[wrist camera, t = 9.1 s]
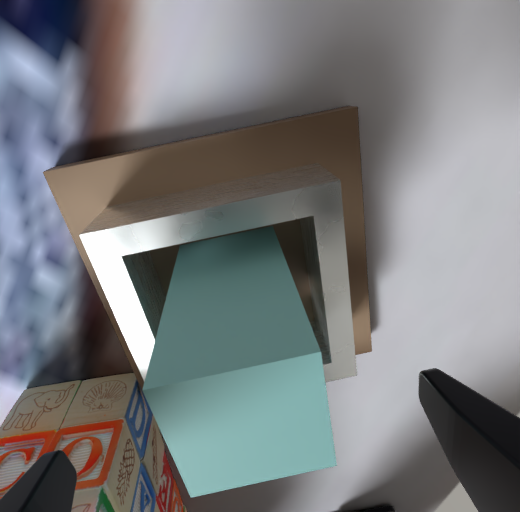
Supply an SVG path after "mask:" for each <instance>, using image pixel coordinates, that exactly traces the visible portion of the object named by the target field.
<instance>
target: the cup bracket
mask: <svg viewBox="0 0 520 512" xmlns="http://www.w3.org/2000/svg"><path fill="white" fill-rule="evenodd" d="M295 219H300V223H301V230H302V237H303V244H304V251H305V258H306V265H307V272H308V279H309V286H310V293H311V300H312V307H313V314H314V320H313V321H309V322H310V325H311V327H312V330H313V332H314V335H315V338H316V340H317V343H318V345H319V348H320V351H321V355H322V363H323V370H324V377H325V382H329V381H334V380H339V379H343V378H348V377H352V376H357V369H356V357H355V346H354V334H353V322H352V310H351V299H350V287H349V275H348V263H347V251H346V240H345V228H344V216H343V204H342V193H341V181H340V179H338V178H337V177H336V176H334V175H333V174H332V173H330V172H329V171H328V170H326V169H325V168H324V167H322V166H321V165H320V164H318V163H314V164H309V165H304V166H300V167H295V168H290V169H285V170H280V171H276V172H271V173H266V174H261V175H256V176H252V177H247V178H242V179H237V180H233V181H228V182H223V183H218V184H213V185H209V186H204V187H199V188H194V189H189V190H185V191H180V192H175V193H170V194H166V195H161V196H156V197H151V198H146V199H142V200H137V201H132V202H127V203H122V204H118V205H113V206H108V207H106V208H105V209H104V210H103V211H102V212H101V213H100V214H99V215H98V216H97V217H96V218H95V219H94V220H93V221H92V222H91V223H90V224H89V225H88V226H87V227H86V228H85V229H84V230H83V232H82V233H81V234H80V235H79V236H80V238H81V240H82V242H83V245H84V247H85V249H86V251H87V254H88V256H89V258H90V260H91V263H92V265H93V267H94V270H95V272H96V274H97V276H98V279H99V281H100V283H101V285H102V288H103V290H104V292H105V294H106V297H107V299H108V301H109V303H110V306H111V308H112V310H113V312H114V315H115V317H116V319H117V321H118V324H119V326H120V328H121V330H122V333H123V335H124V337H125V339H126V342H127V344H128V346H129V348H130V351H131V353H132V355H133V357H134V360H135V362H136V364H137V366H138V369H139V371H140V373H141V376H142V378H143V380H144V382H145V378H146V374H147V370H148V366H149V362H150V358H151V355H152V351H153V347H154V343H155V339H156V335H157V331H158V328H159V324H160V320H161V316H162V312H163V308H164V304H165V301H166V297H165V294H164V291H163V289H162V286H161V283H160V280H159V277H158V275H157V272H156V269H155V266H154V263H153V261H152V258H151V255H150V252H149V250H153V249H158V248H163V247H167V246H172V245H177V244H182V243H186V242H191V241H196V240H201V239H205V238H210V237H215V236H219V235H224V234H229V233H234V232H238V231H243V230H248V229H253V228H257V227H262V226H267V225H272V224H276V223H281V222H286V221H291V220H295Z"/></svg>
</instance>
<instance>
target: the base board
mask: <svg viewBox="0 0 520 512" xmlns="http://www.w3.org/2000/svg"><path fill="white" fill-rule="evenodd" d="M314 163H318V164H320V165H321V166H322V167H324V168H325V169H326V170H328V171H329V172H330V173H332V174H333V175H334V176H336V177H337V178H338V179H340V181H341V193H342V204H343V216H344V228H345V240H346V251H347V263H348V275H349V287H350V299H351V310H352V322H353V334H354V346H355V355H358V354H362V353H367V352H371V351H372V346H371V329H370V311H369V294H368V277H367V260H366V243H365V225H364V208H363V191H362V174H361V156H360V139H359V122H358V107H355V106H346V107H341V108H336V109H331V110H326V111H321V112H317V113H312V114H307V115H302V116H297V117H292V118H288V119H283V120H278V121H273V122H268V123H263V124H259V125H254V126H249V127H244V128H239V129H234V130H230V131H225V132H220V133H215V134H210V135H205V136H201V137H196V138H191V139H186V140H181V141H176V142H172V143H167V144H162V145H157V146H152V147H147V148H143V149H138V150H133V151H128V152H123V153H119V154H114V155H109V156H104V157H99V158H94V159H90V160H85V161H80V162H75V163H70V164H65V165H61V166H56V167H53V168H51V169H48V170H46V171H44V172H43V174H44V176H45V178H46V180H47V183H48V185H49V187H50V189H51V191H52V194H53V196H54V198H55V200H56V202H57V205H58V207H59V209H60V211H61V213H62V216H63V218H64V220H65V222H66V224H67V227H68V229H69V231H70V233H71V235H72V238H73V240H74V242H75V244H76V246H77V249H78V251H79V253H80V255H81V257H82V260H83V262H84V264H85V266H86V268H87V271H88V273H89V275H90V277H91V279H92V282H93V284H94V286H95V288H96V290H97V293H98V295H99V297H100V299H101V301H102V304H103V306H104V308H105V310H106V312H107V315H108V317H109V319H110V321H111V324H112V326H113V328H114V330H115V332H116V335H117V337H118V339H119V341H120V343H121V346H122V348H123V350H124V352H125V354H126V357H127V359H128V361H129V363H130V365H131V368H132V370H133V372H134V374H135V376H136V379H137V381H138V383H139V385H140V387H141V390H142V389H143V385H144V380H143V378H142V376H141V373H140V371H139V369H138V366H137V364H136V362H135V360H134V357H133V355H132V353H131V351H130V348H129V346H128V344H127V342H126V339H125V337H124V335H123V333H122V330H121V328H120V326H119V324H118V321H117V319H116V317H115V315H114V312H113V310H112V308H111V306H110V303H109V301H108V299H107V297H106V294H105V292H104V290H103V288H102V285H101V283H100V281H99V279H98V276H97V274H96V272H95V270H94V267H93V265H92V263H91V260H90V258H89V256H88V254H87V251H86V249H85V247H84V245H83V242H82V240H81V238H80V236H79V235H80V234H81V233H82V232H83V230H84V229H85V228H86V227H87V226H88V225H89V224H90V223H91V222H92V221H93V220H94V219H95V218H96V217H97V216H98V215H99V214H100V213H101V212H102V211H103V210H104V209H105V208H106V207H108V206H113V205H118V204H122V203H127V202H132V201H137V200H142V199H146V198H151V197H156V196H161V195H166V194H170V193H175V192H180V191H185V190H189V189H194V188H199V187H204V186H209V185H213V184H218V183H223V182H228V181H233V180H237V179H242V178H247V177H252V176H256V175H261V174H266V173H271V172H276V171H280V170H285V169H290V168H295V167H300V166H304V165H309V164H314ZM270 226H273V228H274V231H275V233H276V236H277V239H278V241H279V244H280V247H281V249H282V252H283V254H284V257H285V260H286V262H287V265H288V267H289V270H290V273H291V275H292V278H293V280H294V283H295V286H296V288H297V291H298V293H299V296H300V299H301V301H302V304H303V306H304V309H305V312H306V314H307V317H308V319H309V321H313V320H314V314H313V307H312V300H311V293H310V286H309V279H308V272H307V265H306V258H305V251H304V244H303V237H302V230H301V223H300V219H295V220H291V221H286V222H281V223H276V224H272V225H267V226H262V227H257V228H253V229H248V230H243V231H238V232H234V233H229V234H224V235H219V236H215V237H210V238H205V239H201V240H196V241H191V242H186V243H182V244H177V245H172V246H167V247H163V248H158V249H153V250H149V252H150V255H151V258H152V261H153V263H154V266H155V269H156V272H157V275H158V277H159V280H160V283H161V286H162V289H163V291H164V294H165V297H167V293H168V289H169V285H170V281H171V278H172V274H173V270H174V266H175V262H176V258H177V254H178V251H179V247H180V245H184V244H189V243H194V242H199V241H203V240H208V239H213V238H218V237H222V236H227V235H232V234H237V233H241V232H246V231H251V230H256V229H261V228H265V227H270ZM142 392H143V391H142ZM143 394H144V393H143ZM144 396H145V395H144Z"/></svg>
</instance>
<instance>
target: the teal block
mask: <svg viewBox="0 0 520 512" xmlns="http://www.w3.org/2000/svg"><path fill="white" fill-rule="evenodd" d="M142 391H143V393H144V395H145V398H146V400H147V402H148V404H149V406H150V409H151V411H152V413H153V415H154V417H155V420H156V422H157V424H158V426H159V429H160V431H161V433H162V435H163V437H164V440H165V442H166V444H167V446H168V448H169V451H170V453H171V455H172V457H173V460H174V462H175V464H176V466H177V468H178V471H179V473H180V475H181V477H182V479H183V482H184V484H185V486H186V488H187V491H188V493H189V495H190V497H191V498H192V497H196V496H201V495H206V494H210V493H215V492H219V491H224V490H228V489H233V488H237V487H242V486H247V485H251V484H256V483H260V482H265V481H269V480H274V479H279V478H283V477H288V476H292V475H297V474H301V473H306V472H310V471H315V470H320V469H324V468H329V467H333V466H337V464H336V457H335V450H334V442H333V435H332V428H331V421H330V413H329V406H328V399H327V392H326V384H325V377H324V370H323V363H322V355H321V351H320V348H319V345H318V343H317V340H316V338H315V335H314V332H313V330H312V327H311V325H310V322H309V319H308V317H307V314H306V312H305V309H304V306H303V304H302V301H301V299H300V296H299V293H298V291H297V288H296V286H295V283H294V280H293V278H292V275H291V273H290V270H289V267H288V265H287V262H286V260H285V257H284V254H283V252H282V249H281V247H280V244H279V241H278V239H277V236H276V233H275V231H274V228H273V226H270V227H265V228H261V229H256V230H251V231H246V232H241V233H237V234H232V235H227V236H222V237H218V238H213V239H208V240H203V241H199V242H194V243H189V244H184V245H180V247H179V251H178V254H177V258H176V262H175V266H174V270H173V274H172V278H171V281H170V285H169V289H168V293H167V297H166V301H165V304H164V308H163V312H162V316H161V320H160V324H159V328H158V331H157V335H156V339H155V343H154V347H153V351H152V355H151V358H150V362H149V366H148V370H147V374H146V378H145V382H144V385H143V389H142Z"/></svg>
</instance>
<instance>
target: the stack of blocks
mask: <svg viewBox="0 0 520 512" xmlns="http://www.w3.org/2000/svg"><path fill="white" fill-rule="evenodd" d="M164 448H165V446H164V443H163V440H162V437H161V434H160V431H159V428H158V424H157V422H156V420H155V417H154V415H153V413H152V411H151V409H150V406H149V404H148V402H147V400H146V398H145V396H144V394H143V392H142V390H141V387H140V385H139V383H138V381H137V379H136V376H135V374H134V373H128V374H121V375H113V376H107V377H101V378H94V379H88V380H84V381H80V380H77V381H71V382H65V383H58V384H52V385H45V386H39V387H34V388H29V389H26V390H24V392H23V393H22V394H21V396H20V397H19V399H18V400H17V402H16V403H15V405H14V406H13V408H12V409H11V411H10V412H9V414H8V415H7V417H6V419H5V420H4V422H3V424H2V425H1V427H0V499H1V498H2V497H3V496H4V495H5V494H6V493H7V491H8V490H9V489H10V488H11V487H12V486H13V485H14V484H15V483H16V482H17V481H18V480H19V479H20V478H21V477H22V476H23V475H24V473H25V472H26V471H27V470H28V469H29V468H30V467H31V466H32V465H33V464H34V463H35V462H36V461H37V460H38V459H39V458H40V457H41V456H42V455H43V454H45V453H48V452H52V451H57V450H62V451H64V452H65V454H66V455H67V457H68V458H69V460H70V461H71V463H72V464H73V466H74V467H75V469H76V472H77V482H76V488H75V493H74V499H73V504H72V510H71V512H187V509H186V507H185V506H184V505H183V503H182V499H181V496H180V494H179V490H178V488H177V485H176V481H175V479H174V478H173V475H172V472H171V469H170V466H169V463H168V460H167V457H166V454H165V451H164Z"/></svg>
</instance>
